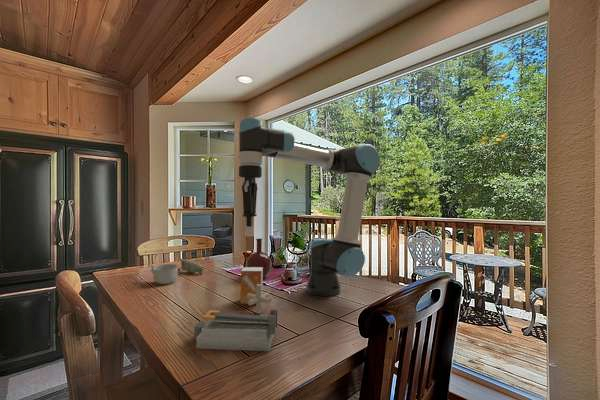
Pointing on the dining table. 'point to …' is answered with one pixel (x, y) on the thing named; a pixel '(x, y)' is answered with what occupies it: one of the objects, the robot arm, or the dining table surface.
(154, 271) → the teacup
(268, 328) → the heatsink
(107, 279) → the dining table surface
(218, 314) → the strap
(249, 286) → the small box
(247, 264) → the round-bottom flask
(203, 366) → the dining table surface
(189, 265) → the decorative bird
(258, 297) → the pipe connector
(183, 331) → the dining table surface
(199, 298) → the dining table surface
